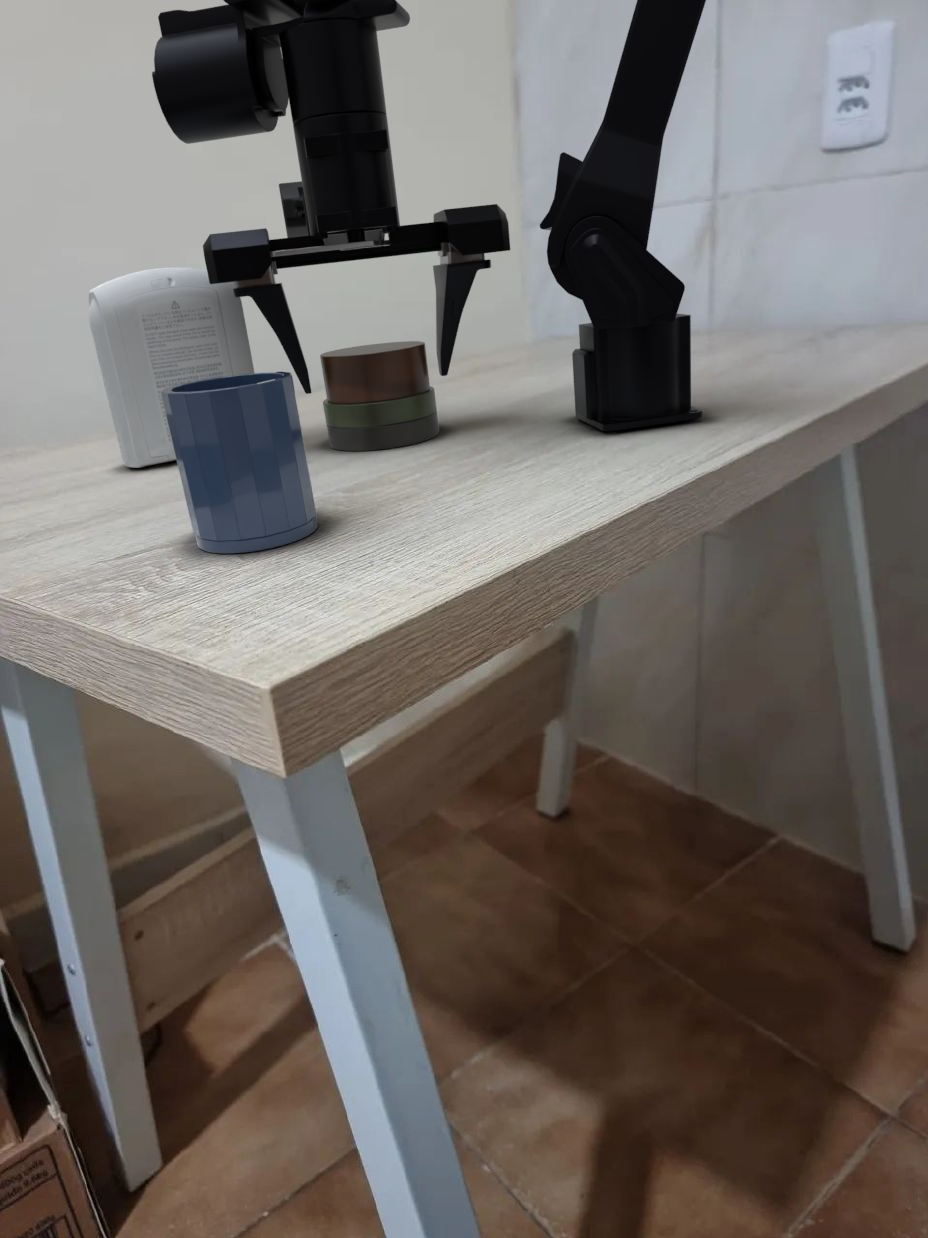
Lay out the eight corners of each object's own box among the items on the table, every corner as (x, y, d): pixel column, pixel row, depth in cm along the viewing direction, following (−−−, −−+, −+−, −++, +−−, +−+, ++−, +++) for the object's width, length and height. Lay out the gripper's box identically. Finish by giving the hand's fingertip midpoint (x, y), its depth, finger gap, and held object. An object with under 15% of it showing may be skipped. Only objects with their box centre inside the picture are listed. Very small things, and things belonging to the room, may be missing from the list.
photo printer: (256, 437, 66) (221, 262, 62) (277, 443, 63) (242, 258, 58) (118, 465, 62) (69, 278, 57) (133, 473, 58) (82, 275, 53)
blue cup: (316, 510, 44) (291, 367, 41) (319, 541, 39) (291, 380, 36) (203, 527, 43) (170, 382, 40) (191, 561, 38) (152, 398, 35)
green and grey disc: (430, 422, 64) (425, 380, 63) (447, 440, 57) (442, 393, 56) (327, 436, 63) (320, 394, 62) (332, 456, 56) (324, 409, 55)
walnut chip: (422, 381, 63) (417, 338, 62) (437, 393, 56) (431, 345, 55) (325, 394, 62) (318, 350, 61) (329, 408, 55) (321, 359, 54)
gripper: (466, 127, 62) (486, 356, 67) (196, 153, 59) (243, 388, 65) (500, 98, 51) (521, 370, 57) (177, 127, 49) (234, 408, 55)
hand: (376, 383), depth 59 cm, fingers open, 9 cm apart
